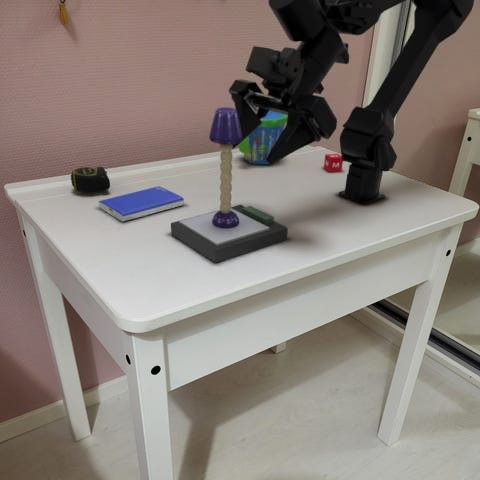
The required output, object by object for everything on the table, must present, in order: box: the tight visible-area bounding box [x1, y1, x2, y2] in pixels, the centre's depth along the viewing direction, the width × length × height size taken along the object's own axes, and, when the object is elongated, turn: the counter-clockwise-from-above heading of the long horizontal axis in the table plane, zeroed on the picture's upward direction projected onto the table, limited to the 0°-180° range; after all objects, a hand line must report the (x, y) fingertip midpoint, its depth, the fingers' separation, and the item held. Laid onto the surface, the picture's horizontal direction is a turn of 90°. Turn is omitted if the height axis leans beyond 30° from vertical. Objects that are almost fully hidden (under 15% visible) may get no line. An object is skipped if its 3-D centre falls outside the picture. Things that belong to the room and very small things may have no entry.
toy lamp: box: [209, 106, 242, 228], centre depth 71 cm, size 5×5×17 cm
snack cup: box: [238, 110, 288, 166], centre depth 109 cm, size 16×10×10 cm
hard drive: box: [98, 185, 185, 222], centre depth 87 cm, size 2×8×12 cm
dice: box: [323, 153, 344, 173], centre depth 107 cm, size 3×3×3 cm
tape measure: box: [70, 166, 111, 194], centre depth 92 cm, size 7×7×4 cm
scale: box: [170, 204, 289, 264], centre depth 77 cm, size 14×12×3 cm
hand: (247, 155), depth 72 cm, fingers open, 9 cm apart
